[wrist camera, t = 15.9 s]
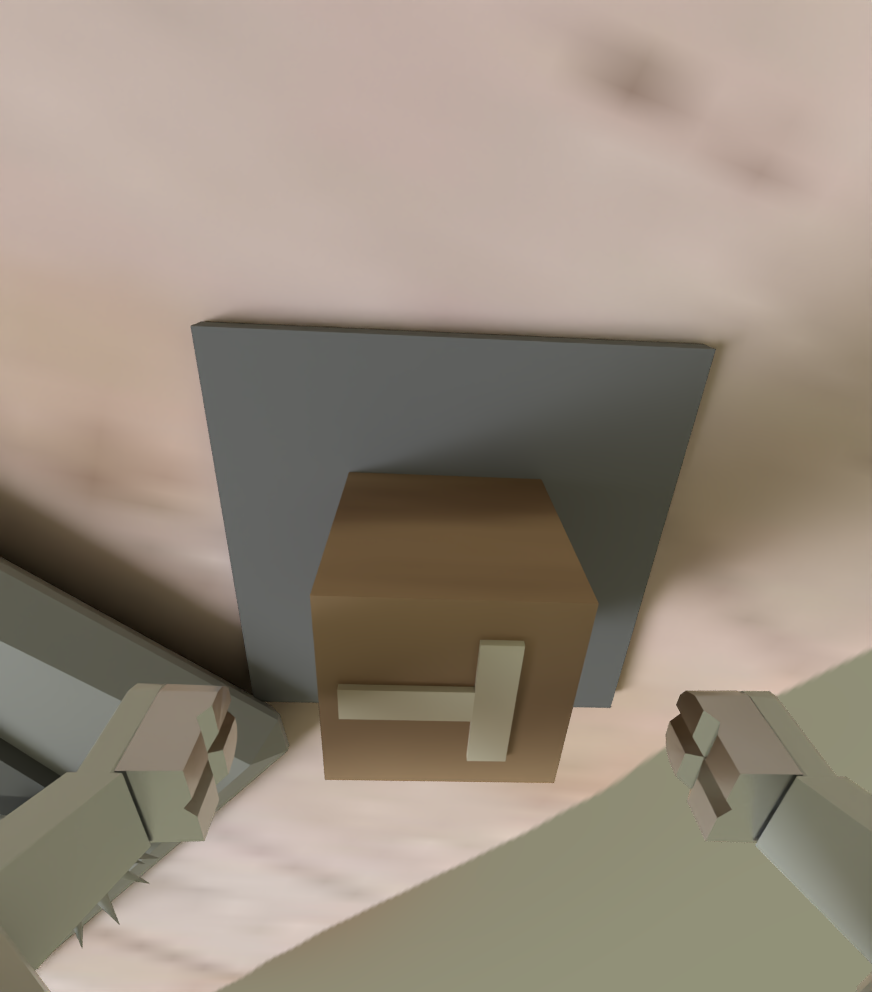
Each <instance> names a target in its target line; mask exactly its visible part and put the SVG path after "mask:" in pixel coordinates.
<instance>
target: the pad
mask: <svg viewBox="0 0 872 992" xmlns="http://www.w3.org/2000/svg"><path fill="white" fill-rule="evenodd" d="M191 331H192V337H193V343H194V349H195V355H196V361H197V366H198V372H199V378H200V384H201V390H202V396H203V402H204V408H205V414H206V420H207V426H208V432H209V437H210V443H211V449H212V455H213V461H214V467H215V473H216V479H217V485H218V491H219V497H220V503H221V508H222V514H223V520H224V526H225V532H226V538H227V544H228V550H229V556H230V562H231V568H232V573H233V579H234V585H235V591H236V597H237V603H238V609H239V615H240V621H241V627H242V633H243V639H244V644H245V650H246V656H247V662H248V668H249V674H250V680H251V686H252V692H253V697H255V698H257V699H258V700H260V701H262V702H315V703H319V701H318V689H317V677H316V665H315V652H314V640H313V628H312V616H311V604H310V593H311V590H312V587H313V584H314V581H315V578H316V575H317V571H318V568H319V565H320V562H321V559H322V556H323V552H324V549H325V546H326V543H327V540H328V537H329V533H330V530H331V527H332V524H333V521H334V518H335V515H336V511H337V508H338V505H339V502H340V499H341V496H342V492H343V489H344V486H345V483H346V480H347V477H348V473H349V472H361V473H388V474H415V475H442V476H469V477H496V478H523V479H541V480H542V482H543V484H544V486H545V488H546V490H547V493H548V495H549V497H550V499H551V501H552V503H553V506H554V508H555V510H556V512H557V514H558V516H559V519H560V521H561V523H562V525H563V527H564V529H565V532H566V534H567V536H568V538H569V540H570V542H571V545H572V547H573V549H574V551H575V553H576V555H577V558H578V560H579V562H580V564H581V566H582V568H583V571H584V573H585V575H586V577H587V579H588V581H589V584H590V586H591V588H592V590H593V592H594V594H595V597H596V599H597V601H598V603H599V604H598V608H597V612H596V616H595V620H594V625H593V629H592V633H591V637H590V641H589V645H588V649H587V653H586V657H585V661H584V665H583V669H582V673H581V677H580V681H579V685H578V689H577V693H576V697H575V701H574V705H573V707H595V708H610V707H611V704H612V700H613V697H614V694H615V690H616V687H617V683H618V680H619V677H620V673H621V670H622V666H623V663H624V660H625V656H626V653H627V649H628V646H629V643H630V639H631V636H632V632H633V629H634V626H635V622H636V619H637V615H638V612H639V609H640V605H641V602H642V598H643V595H644V592H645V588H646V585H647V581H648V578H649V575H650V571H651V568H652V564H653V561H654V558H655V554H656V551H657V547H658V544H659V541H660V537H661V534H662V530H663V527H664V524H665V520H666V517H667V513H668V510H669V507H670V503H671V500H672V496H673V493H674V490H675V486H676V483H677V479H678V476H679V473H680V469H681V466H682V462H683V459H684V456H685V452H686V449H687V445H688V442H689V439H690V435H691V432H692V428H693V425H694V422H695V418H696V415H697V411H698V408H699V405H700V401H701V398H702V394H703V391H704V388H705V384H706V381H707V377H708V374H709V371H710V367H711V364H712V360H713V357H714V354H715V350H716V349H714V348H711V347H709V346H707V345H704V344H689V343H667V342H644V341H622V340H600V339H578V338H555V337H533V336H511V335H488V334H466V333H444V332H421V331H399V330H377V329H355V328H332V327H310V326H288V325H265V324H243V323H221V322H199V323H197V324H194V325H192V326H191Z"/></svg>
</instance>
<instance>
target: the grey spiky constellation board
mask: <svg viewBox="0 0 872 992" xmlns="http://www.w3.org/2000/svg"><path fill="white" fill-rule="evenodd" d="M137 683H144V684H182V685H209V686H226V687H228V689H229V692H230V696H231V703H230V705H229V708H228V710H227V711H228V712H229V713H231V714H232V715H233V716H234V717H235V719H236V724H237V743H236V749H235V755H234V759H233V762H232V765H231V768H230V771H229V774H228V775H227V776H226V777H225V778H224V779H222V780H221V781H220V782H219V783H218V784H217V785H216V788H217V792H218V796H219V802H218V805H217V808H216V811H217V810H219V809H220V808H221V807H222V806H223V805H224V804H226V803H227V802H228V801H229V800H230V799H232V798H233V797H234V796H235V795H236V794H237V793H239V792H240V791H241V790H242V789H243V788H244V787H246V786H247V785H248V784H249V783H250V782H251V781H253V780H254V779H255V778H256V777H257V776H258V775H260V774H261V773H262V772H263V771H264V770H265V769H267V768H268V767H269V766H270V765H271V764H272V763H274V762H275V761H276V760H277V759H278V758H279V757H281V756H282V755H283V754H284V753H285V752H286V751H288V747H289V743H288V739H287V736H286V733H285V730H284V727H283V723H282V720H281V717H280V714H279V713H278V712H277V711H276V710H275V709H274V708H273V707H272V706H271V705H269V704H268V703H266V702H262V701H260V700H258V699H257V698H255V697H253V695H251V694H249V693H248V692H246V691H244V690H242V689H240V688H239V687H237V686H235V685H233V684H231V683H229V682H228V681H226V680H224V679H222V678H220V677H219V676H217V675H215V674H213V673H211V672H209V671H208V670H206V669H204V668H202V667H200V666H198V665H197V664H195V663H193V662H191V661H189V660H188V659H186V658H184V657H182V656H180V655H178V654H177V653H175V652H173V651H171V650H169V649H168V648H166V647H164V646H162V645H160V644H158V643H157V642H155V641H153V640H151V639H149V638H148V637H146V636H144V635H142V634H140V633H138V632H137V631H135V630H133V629H131V628H129V627H128V626H126V625H124V624H122V623H120V622H118V621H117V620H115V619H113V618H111V617H109V616H107V615H106V614H104V613H102V612H100V611H98V610H97V609H95V608H93V607H91V606H89V605H87V604H86V603H84V602H82V601H80V600H78V599H77V598H75V597H73V596H71V595H69V594H67V593H66V592H64V591H62V590H60V589H58V588H57V587H55V586H53V585H51V584H49V583H47V582H46V581H44V580H42V579H40V578H38V577H37V576H35V575H33V574H31V573H29V572H27V571H26V570H24V569H22V568H20V567H18V566H16V565H15V564H13V563H11V562H9V561H7V560H6V559H4V558H2V557H0V820H1V819H3V818H4V817H5V816H7V815H8V814H10V813H11V812H12V811H14V810H15V809H17V808H18V807H19V806H21V805H22V804H23V803H25V802H26V801H28V800H29V799H30V798H32V797H33V796H35V795H36V794H37V793H39V792H40V791H42V790H43V789H44V788H46V787H47V786H48V785H50V784H51V783H53V782H54V781H55V780H57V779H58V778H60V777H61V776H62V775H64V774H65V773H66V772H77V770H78V769H79V767H80V766H81V764H82V763H83V761H84V759H85V758H86V756H87V755H88V753H89V751H90V750H91V748H92V747H93V745H94V744H95V742H96V740H97V739H98V737H99V736H100V734H101V733H102V731H103V729H104V728H105V726H106V725H107V723H108V722H109V720H110V718H111V717H112V715H113V714H114V712H115V711H116V709H117V707H118V706H119V704H120V703H121V701H122V700H123V698H124V696H125V695H126V693H127V692H128V691H129V690H130V689H131V688H132V687H133V686H135V685H136V684H137ZM216 811H215V812H216ZM179 843H180V842H155V843H150V844H151V846H150V848H149V849H148V850H147V851H146V852H145V853H144V854H143V855H142V856H141V857H140V858H139V859H138V860H137V862H136V863H135V864H134V865H133V866H132V867H131V868H130V869H129V870H128V871H127V872H126V873H125V874H124V876H123V877H122V878H121V879H120V880H119V881H118V882H117V883H116V884H115V885H114V886H113V887H112V888H111V890H110V891H109V892H108V893H107V894H106V895H105V896H104V897H103V898H102V899H101V900H100V901H99V902H98V904H97V905H96V906H95V907H94V908H93V909H92V910H91V911H90V912H89V913H88V914H87V915H86V916H85V918H84V919H83V920H82V921H81V922H80V923H79V924H78V925H77V926H76V927H75V928H74V929H73V930H72V931H71V933H70V934H69V935H68V936H67V937H66V938H65V939H64V940H63V941H62V942H61V943H60V944H59V945H58V946H60V945H61V944H62V943H63V942H64V941H65V940H67V939H68V938H69V937H70V936H71V935H72V934H74V933H76V936H77V938H78V940H79V942H80V945H81V947H82V939H83V925H84V924H85V923H87V922H88V921H89V920H90V919H91V918H92V917H94V916H95V915H96V914H97V913H98V912H99V911H101V910H102V909H103V910H104V911H105V912H106V913H108V914H109V915H110V916H111V917H112V918H113V919H114V920H115V921H116V922H117V923H118V924H119V922H118V919H117V917H116V914H115V912H114V909H113V906H112V904H111V901H112V900H113V899H115V898H116V897H117V896H118V895H119V894H120V893H122V892H123V891H124V890H125V889H126V888H127V887H129V886H130V885H131V884H132V883H133V882H134V881H137V882H143V883H148V882H147V881H145V880H143V879H142V878H140V876H141V875H143V874H144V873H145V872H146V871H147V870H148V869H150V868H151V867H152V866H153V865H154V864H156V863H157V862H158V861H159V860H160V859H161V858H163V857H164V856H165V855H166V854H167V853H168V852H170V851H171V850H172V849H173V848H174V847H175V846H177V845H178V844H179ZM149 884H150V883H149ZM119 925H120V924H119ZM37 969H38V968H37Z"/></svg>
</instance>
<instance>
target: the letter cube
mask: <svg viewBox="0 0 872 992" xmlns="http://www.w3.org/2000/svg"><path fill="white" fill-rule="evenodd" d="M310 604H311V616H312V628H313V640H314V652H315V665H316V677H317V689H318V701H319V714H320V726H321V738H322V750H323V762H324V775H325V780H382V781H453V782H524V783H554V781H555V777H556V773H557V769H558V765H559V761H560V757H561V753H562V749H563V745H564V741H565V737H566V733H567V729H568V725H569V721H570V717H571V713H572V709H573V705H574V701H575V697H576V693H577V689H578V685H579V681H580V677H581V673H582V669H583V665H584V661H585V657H586V653H587V649H588V645H589V641H590V637H591V633H592V629H593V625H594V620H595V616H596V612H597V608H598V604H599V603H598V601H597V599H596V597H595V594H594V592H593V590H592V588H591V586H590V584H589V581H588V579H587V577H586V575H585V573H584V571H583V568H582V566H581V564H580V562H579V560H578V558H577V555H576V553H575V551H574V549H573V547H572V545H571V542H570V540H569V538H568V536H567V534H566V532H565V529H564V527H563V525H562V523H561V521H560V519H559V516H558V514H557V512H556V510H555V508H554V506H553V503H552V501H551V499H550V497H549V495H548V493H547V490H546V488H545V486H544V484H543V482H542V480H541V479H523V478H496V477H469V476H442V475H415V474H388V473H361V472H349V473H348V477H347V480H346V483H345V486H344V489H343V492H342V496H341V499H340V502H339V505H338V508H337V511H336V515H335V518H334V521H333V524H332V527H331V530H330V533H329V537H328V540H327V543H326V546H325V549H324V552H323V556H322V559H321V562H320V565H319V568H318V571H317V575H316V578H315V581H314V584H313V587H312V590H311V593H310Z"/></svg>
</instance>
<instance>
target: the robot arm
mask: <svg viewBox="0 0 872 992" xmlns="http://www.w3.org/2000/svg"><path fill="white" fill-rule="evenodd" d="M230 703H231V696H230V692H229V689H228V687H226V686H209V685H182V684H144V683H137V684H136V685H135V686H133V687H132V688H131V689H130V690H129V691H128V692H127V693H126V695H125V696H124V698H123V700H122V701H121V703H120V704H119V706H118V707H117V709H116V711H115V712H114V714H113V715H112V717H111V718H110V720H109V722H108V723H107V725H106V726H105V728H104V729H103V731H102V733H101V734H100V736H99V737H98V739H97V740H96V742H95V744H94V745H93V747H92V748H91V750H90V751H89V753H88V755H87V756H86V758H85V759H84V761H83V763H82V764H81V766H80V767H79V769H78V770H77V772H66V773H65V774H64V775H62V776H61V777H60V778H58V779H57V780H55V781H54V782H53V783H51V784H50V785H48V786H47V787H46V788H44V789H43V790H42V791H40V792H39V793H37V794H36V795H35V796H33V797H32V798H30V799H29V800H28V801H26V802H25V803H23V804H22V805H21V806H19V807H18V808H17V809H15V810H14V811H12V812H11V813H10V814H8V815H7V816H5V817H4V818H3V819H1V820H0V992H51V991H50V990H49V989H48V987H47V986H46V985H45V983H44V982H43V981H42V979H41V978H40V977H39V975H38V974H37V973H36V971H35V970H36V969H37V968H38V967H39V966H40V965H41V964H42V963H43V962H44V961H45V959H46V958H47V957H48V956H49V955H50V954H51V953H52V952H53V951H54V950H55V949H56V948H57V947H58V945H59V944H60V943H61V942H62V941H63V940H64V939H65V938H66V937H67V936H68V935H69V934H70V933H71V931H72V930H73V929H74V928H75V927H76V926H77V925H78V924H79V923H80V922H81V921H82V920H83V919H84V918H85V916H86V915H87V914H88V913H89V912H90V911H91V910H92V909H93V908H94V907H95V906H96V905H97V904H98V902H99V901H100V900H101V899H102V898H103V897H104V896H105V895H106V894H107V893H108V892H109V891H110V890H111V888H112V887H113V886H114V885H115V884H116V883H117V882H118V881H119V880H120V879H121V878H122V877H123V876H124V874H125V873H126V872H127V871H128V870H129V869H130V868H131V867H132V866H133V865H134V864H135V863H136V862H137V860H138V859H139V858H140V857H141V856H142V855H143V854H144V853H145V852H146V851H147V850H148V849H149V848H150V846H151V844H150V843H155V842H189V841H205V838H206V836H207V833H208V830H209V827H210V825H211V822H212V819H213V816H214V813H215V811H216V808H217V805H218V802H219V796H218V792H217V788H216V785H217V784H218V783H219V782H220V781H221V780H222V779H224V778H225V777H226V776H227V775H228V774H229V771H230V768H231V765H232V762H233V759H234V755H235V749H236V743H237V724H236V719H235V717H234V716H233V715H232V714H231V713H229V712H228V711H227V710H228V708H229V705H230ZM676 705H677V707H678V709H679V711H680V713H681V714H679V715H678V716H677V717H675V718H674V719H672V720H671V721H670V722H669V725H668V729H667V732H666V750H667V754H668V758H669V762H670V764H671V767H672V769H673V771H674V773H675V776H676V777H677V778H678V779H680V780H681V781H682V782H683V783H684V784H685V785H686V786H687V787H689V788H690V791H689V796H688V800H687V802H688V804H689V806H690V808H691V811H692V813H693V815H694V817H695V819H696V822H697V824H698V826H699V828H700V830H701V832H702V835H703V837H704V839H705V841H714V842H715V841H716V842H747V843H748V842H749V843H756V845H755V846H756V847H757V848H758V849H759V850H760V851H761V852H762V853H763V854H764V855H765V856H766V857H767V858H768V859H769V860H770V861H771V862H772V863H773V864H774V865H775V866H776V867H777V868H778V869H779V870H780V871H781V872H782V873H783V874H784V875H785V876H786V877H787V878H788V879H789V880H790V881H791V882H792V883H793V885H794V886H796V887H797V888H798V890H799V891H800V892H801V893H802V894H803V895H804V896H805V897H806V898H807V899H808V900H809V901H810V902H811V903H812V904H813V905H814V906H815V907H816V908H817V909H818V910H819V911H820V912H821V913H822V914H823V915H824V916H825V917H826V918H827V919H828V920H829V921H830V922H831V923H832V924H833V925H834V926H835V927H836V928H837V929H838V930H839V931H840V932H841V933H842V934H843V935H844V936H845V937H846V938H847V939H848V940H849V941H850V942H851V943H852V944H853V945H854V946H855V947H856V948H857V949H858V950H859V951H860V952H861V953H862V954H863V955H864V956H865V957H866V959H867V960H868V961H869V962H870V963H872V794H871V793H869V792H868V791H866V790H865V789H863V788H862V787H860V786H859V785H858V784H856V783H854V782H853V781H852V780H850V779H849V778H847V777H843V776H836V774H835V773H834V772H833V770H832V769H831V768H830V766H829V765H828V764H827V762H826V761H825V760H824V758H823V757H822V756H821V754H820V753H819V752H818V750H817V749H816V748H815V746H814V745H813V744H812V742H811V741H810V740H809V738H808V737H807V736H806V734H805V733H804V732H803V730H802V729H801V728H800V726H799V725H798V724H797V722H796V721H795V720H794V718H793V717H792V716H791V714H790V713H789V712H788V710H787V709H786V708H785V707H784V705H783V704H782V702H781V701H780V700H779V699H778V697H777V696H775V695H774V694H772V693H771V692H770V691H685V692H683V693H682V694H681V695H680V697H679V699H678V702H677V704H676ZM856 992H872V972H871V973H870V974H869V975H868V976H867V977H866V978H865V979H864V980H863V981H862V982H861V983H860V984H859V985H858V987H857V990H856Z"/></svg>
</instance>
